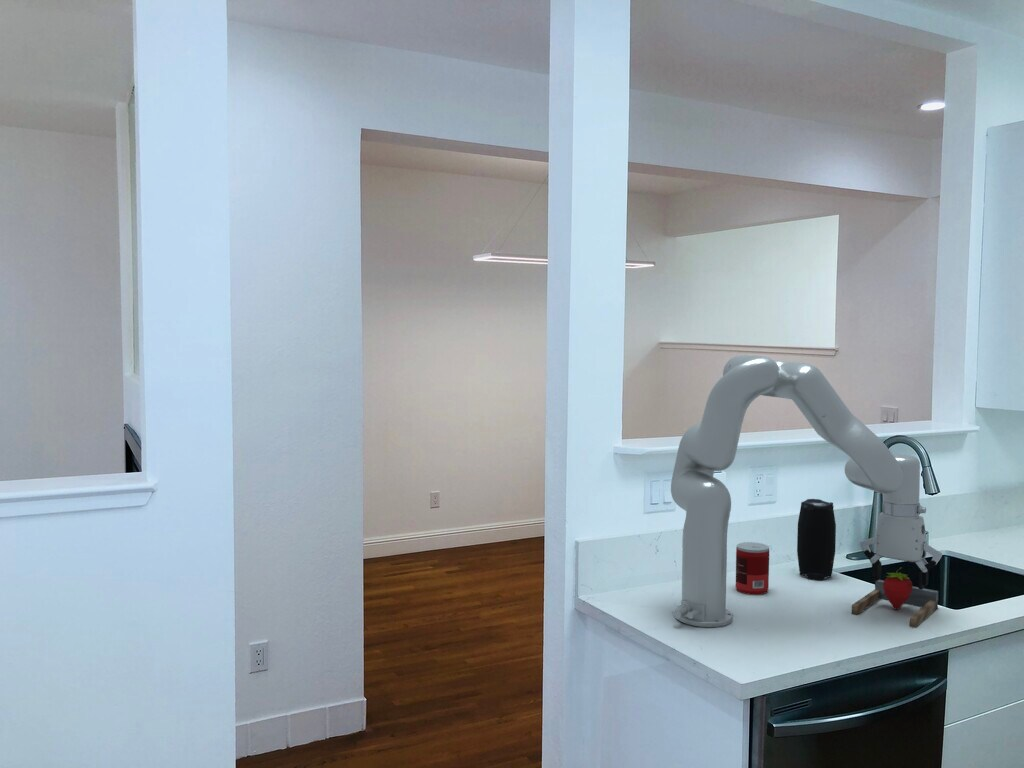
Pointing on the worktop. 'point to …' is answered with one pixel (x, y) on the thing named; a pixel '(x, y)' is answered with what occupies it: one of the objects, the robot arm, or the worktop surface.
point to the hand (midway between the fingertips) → (899, 583)
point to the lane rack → (917, 598)
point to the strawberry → (897, 589)
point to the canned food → (752, 568)
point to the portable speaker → (816, 539)
